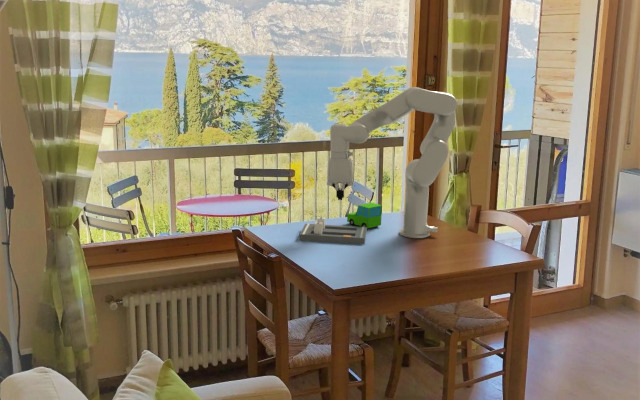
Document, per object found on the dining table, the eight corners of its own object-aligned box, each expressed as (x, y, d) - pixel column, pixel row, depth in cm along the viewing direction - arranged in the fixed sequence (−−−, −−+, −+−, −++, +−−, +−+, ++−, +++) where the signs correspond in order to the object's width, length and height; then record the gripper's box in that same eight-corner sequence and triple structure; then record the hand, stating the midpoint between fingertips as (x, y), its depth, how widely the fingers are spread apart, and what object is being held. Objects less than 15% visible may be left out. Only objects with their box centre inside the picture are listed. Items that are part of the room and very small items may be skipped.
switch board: (366, 232, 267) (366, 226, 266) (364, 244, 252) (364, 237, 251) (305, 229, 270) (305, 223, 269) (299, 240, 255) (299, 233, 254)
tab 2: (322, 234, 259) (322, 221, 257) (321, 236, 256) (321, 223, 254) (314, 234, 259) (315, 221, 258) (313, 236, 256) (314, 223, 255)
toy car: (360, 220, 286) (361, 199, 284) (382, 227, 277) (383, 204, 274) (344, 224, 279) (345, 202, 277) (366, 231, 270) (367, 208, 268)
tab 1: (324, 229, 266) (325, 216, 265) (324, 231, 263) (324, 218, 262) (317, 228, 267) (318, 216, 265) (316, 230, 264) (317, 218, 263)
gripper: (359, 153, 260) (359, 197, 264) (322, 153, 261) (323, 197, 266) (357, 156, 252) (357, 201, 257) (320, 156, 254) (321, 201, 258)
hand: (340, 199), depth 261 cm, fingers closed
